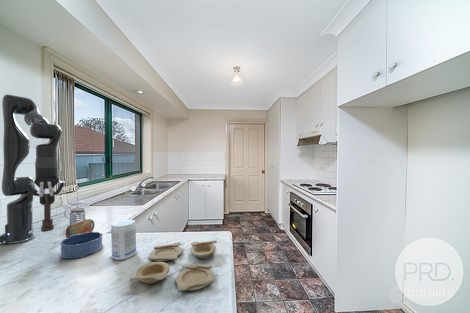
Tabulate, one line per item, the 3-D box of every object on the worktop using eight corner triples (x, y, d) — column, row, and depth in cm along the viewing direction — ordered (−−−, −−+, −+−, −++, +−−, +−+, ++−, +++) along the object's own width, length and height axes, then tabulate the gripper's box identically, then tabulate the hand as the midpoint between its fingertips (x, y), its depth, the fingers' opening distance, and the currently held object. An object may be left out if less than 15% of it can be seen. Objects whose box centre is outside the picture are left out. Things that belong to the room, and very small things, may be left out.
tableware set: (156, 246, 98) (156, 238, 98) (217, 245, 99) (217, 236, 99) (119, 298, 63) (119, 285, 63) (213, 294, 64) (213, 281, 64)
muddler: (39, 232, 90) (39, 194, 90) (43, 229, 94) (42, 193, 94) (52, 230, 92) (51, 193, 92) (55, 227, 96) (54, 192, 96)
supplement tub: (136, 248, 96) (136, 217, 96) (136, 257, 87) (135, 224, 87) (112, 252, 92) (112, 220, 92) (110, 262, 83) (109, 227, 83)
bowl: (56, 262, 83) (56, 248, 83) (65, 248, 97) (65, 235, 97) (100, 254, 91) (100, 240, 91) (103, 241, 104) (103, 229, 104)
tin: (69, 242, 102) (68, 226, 102) (64, 242, 103) (63, 225, 103) (95, 231, 117) (94, 217, 117) (90, 231, 118) (90, 216, 118)
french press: (90, 223, 130) (89, 185, 130) (67, 229, 121) (67, 188, 120) (83, 221, 136) (82, 184, 135) (61, 226, 126) (61, 186, 126)
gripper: (68, 166, 99) (68, 200, 99) (29, 166, 93) (30, 204, 93) (64, 166, 93) (64, 204, 93) (22, 167, 86) (23, 208, 86)
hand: (47, 204), depth 93 cm, fingers closed on muddler, 2 cm apart
